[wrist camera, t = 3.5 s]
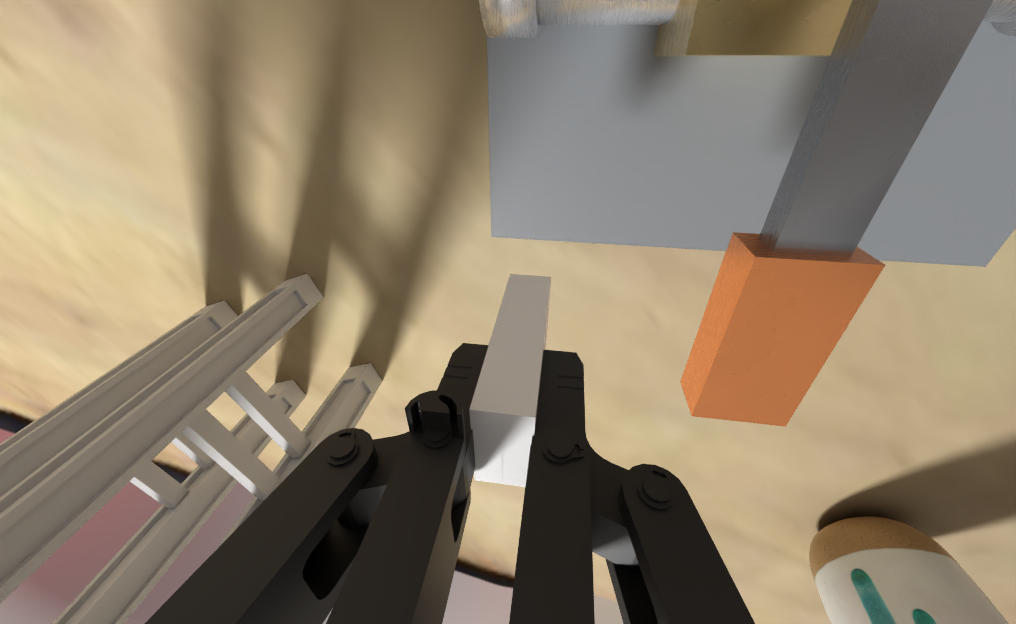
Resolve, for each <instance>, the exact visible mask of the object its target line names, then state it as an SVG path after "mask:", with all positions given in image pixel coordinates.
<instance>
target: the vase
mask: <svg viewBox="0 0 1016 624" xmlns="http://www.w3.org/2000/svg"><path fill="white" fill-rule="evenodd" d="M809 559H810V566H811V571H812V574H813V577H814V580H815V583H816V586H817V589H818V592H819V594H820V597H821V600H822V602H823V605H824V607H825V610H826V612H827V615H828V617H829V619H830V622H831V624H1008V623H1007V621H1006V620H1005V619H1004V617H1003V616H1002V615H1001V613H1000V612H999V611H998V610H997V609H996V607H995V606H994V605H993V604H992V602H991V601H990V600H989V599H988V597H987V596H986V595H985V594H984V593H983V591H982V590H981V589H980V588H979V587H978V586H977V584H976V583H975V582H974V581H973V580H972V579H971V577H970V576H969V575H968V574H967V573H966V572H965V571H964V569H963V568H962V567H961V566H960V565H959V564H958V563H957V562H956V561H955V559H954V558H953V557H952V556H951V555H950V554H949V553H948V552H947V551H946V550H945V549H944V548H943V547H942V546H940V545H939V544H938V543H937V542H936V541H934V540H933V539H932V538H930V537H929V536H927V535H926V534H924V533H923V532H921V531H919V530H918V529H916V528H914V527H912V526H909V525H907V524H905V523H903V522H900V521H896V520H892V519H888V518H882V517H854V518H848V519H844V520H840V521H837V522H834V523H832V524H830V525H828V526H826V527H824V528H823V529H821V530H820V531H819V532H818V533H817V534H816V535H815V537H814V538H813V540H812V543H811V546H810V553H809Z"/></svg>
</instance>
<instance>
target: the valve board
mask: <svg viewBox="0 0 1016 624" xmlns="http://www.w3.org/2000/svg"><path fill="white" fill-rule="evenodd" d="M658 27H659V25H560V26H541V29H540V35H539V38H489V37H488V36H487V64H488V108H489V151H490V195H491V237H500V238H517V239H533V240H550V241H566V242H583V243H600V244H616V245H633V246H649V247H666V248H683V249H699V250H716V251H726V250H727V247H728V245H729V242H730V239H731V236H732V233H733V232H738V233H756V234H760V233H761V231H762V228H763V226H764V223H765V220H766V218H767V215H768V213H769V210H770V208H771V205H772V203H773V200H774V198H775V195H776V193H777V190H778V188H779V185H780V182H781V180H782V177H783V175H784V172H785V170H786V167H787V165H788V162H789V160H790V157H791V155H792V152H793V149H794V147H795V144H796V142H797V139H798V137H799V134H800V132H801V129H802V127H803V124H804V122H805V119H806V116H807V114H808V111H809V109H810V106H811V104H812V101H813V99H814V96H815V94H816V91H817V89H818V86H819V83H820V81H821V78H822V76H823V73H824V71H825V68H826V66H827V63H828V61H829V58H830V57H757V56H653V54H654V49H655V43H656V38H657V32H658ZM1015 228H1016V36H1008V35H1004V34H1001V33H999V32H997V31H996V30H995V29H994V28H993V26H992V25H991V23H990V22H981V24H980V26H979V27H978V29H977V31H976V33H975V35H974V36H973V38H972V40H971V42H970V44H969V45H968V47H967V49H966V51H965V53H964V54H963V56H962V58H961V60H960V62H959V63H958V65H957V67H956V69H955V71H954V73H953V74H952V76H951V78H950V80H949V82H948V83H947V85H946V87H945V89H944V91H943V92H942V94H941V96H940V98H939V100H938V101H937V103H936V105H935V107H934V109H933V110H932V112H931V114H930V116H929V118H928V119H927V121H926V123H925V125H924V127H923V128H922V130H921V132H920V134H919V136H918V137H917V139H916V141H915V143H914V145H913V146H912V148H911V150H910V152H909V154H908V155H907V157H906V159H905V161H904V163H903V164H902V166H901V168H900V170H899V172H898V173H897V175H896V177H895V179H894V181H893V182H892V184H891V186H890V188H889V190H888V191H887V193H886V195H885V197H884V199H883V200H882V202H881V204H880V206H879V208H878V209H877V211H876V213H875V215H874V217H873V218H872V220H871V222H870V224H869V226H868V227H867V229H866V231H865V233H864V235H863V236H862V238H861V240H860V242H859V244H858V245H857V247H859V248H860V249H862V250H863V251H865V252H866V253H868V254H869V255H871V256H872V257H874V258H875V259H877V260H882V261H898V262H915V263H932V264H948V265H965V266H981V267H986V265H987V264H988V263H989V262H990V260H991V259H992V258H993V256H994V255H995V254H996V253H997V251H998V250H999V249H1000V247H1001V246H1002V245H1003V244H1004V242H1005V241H1006V240H1007V239H1008V237H1009V236H1010V235H1011V233H1012V232H1013V231H1014V230H1015Z"/></svg>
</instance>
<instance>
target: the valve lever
mask: <svg viewBox="0 0 1016 624" xmlns="http://www.w3.org/2000/svg"><path fill="white" fill-rule="evenodd" d="M992 2H993V0H852V2H851V5H850V7H849V10H848V12H847V15H846V18H845V20H844V23H843V25H842V28H841V30H840V33H839V35H838V38H837V40H836V43H835V45H834V48H833V51H832V53H831V56H830V58H829V61H828V63H827V66H826V68H825V71H824V73H823V76H822V78H821V81H820V83H819V86H818V89H817V91H816V94H815V96H814V99H813V101H812V104H811V106H810V109H809V111H808V114H807V116H806V119H805V122H804V124H803V127H802V129H801V132H800V134H799V137H798V139H797V142H796V144H795V147H794V149H793V152H792V155H791V157H790V160H789V162H788V165H787V167H786V170H785V172H784V175H783V177H782V180H781V182H780V185H779V188H778V190H777V193H776V195H775V198H774V200H773V203H772V205H771V208H770V210H769V213H768V215H767V218H766V220H765V223H764V226H763V228H762V231H761V233H760V234H756V233H738V232H733V233H732V236H731V239H730V242H729V245H728V247H727V250H726V253H725V256H724V259H723V262H722V265H721V267H720V270H719V273H718V276H717V279H716V282H715V284H714V287H713V290H712V293H711V296H710V299H709V302H708V304H707V307H706V310H705V313H704V316H703V319H702V322H701V324H700V327H699V330H698V333H697V336H696V339H695V342H694V344H693V347H692V350H691V353H690V356H689V359H688V361H687V364H686V367H685V370H684V373H683V376H682V379H681V381H680V382H681V385H682V388H683V391H684V394H685V397H686V400H687V403H688V406H689V409H690V412H691V415H692V416H696V417H705V418H714V419H723V420H732V421H741V422H751V423H760V424H769V425H778V426H786V425H787V423H788V422H789V420H790V418H791V417H792V415H793V413H794V412H795V410H796V409H797V407H798V405H799V404H800V402H801V401H802V399H803V397H804V396H805V394H806V392H807V391H808V389H809V388H810V386H811V384H812V383H813V381H814V379H815V378H816V376H817V375H818V373H819V371H820V370H821V368H822V367H823V365H824V363H825V362H826V360H827V358H828V357H829V355H830V354H831V352H832V350H833V349H834V347H835V346H836V344H837V342H838V341H839V339H840V337H841V336H842V334H843V333H844V331H845V329H846V328H847V326H848V324H849V323H850V321H851V320H852V318H853V316H854V315H855V313H856V312H857V310H858V308H859V307H860V305H861V303H862V302H863V300H864V299H865V297H866V295H867V294H868V292H869V291H870V289H871V287H872V286H873V284H874V282H875V281H876V279H877V278H878V276H879V274H880V273H881V271H882V269H883V268H884V266H885V264H883V263H882V262H880V261H878V260H877V259H875V258H874V257H872V256H871V255H869V254H868V253H866V252H865V251H863V250H862V249H860V248H859V247H857V245H858V244H859V242H860V240H861V238H862V236H863V235H864V233H865V231H866V229H867V227H868V226H869V224H870V222H871V220H872V218H873V217H874V215H875V213H876V211H877V209H878V208H879V206H880V204H881V202H882V200H883V199H884V197H885V195H886V193H887V191H888V190H889V188H890V186H891V184H892V182H893V181H894V179H895V177H896V175H897V173H898V172H899V170H900V168H901V166H902V164H903V163H904V161H905V159H906V157H907V155H908V154H909V152H910V150H911V148H912V146H913V145H914V143H915V141H916V139H917V137H918V136H919V134H920V132H921V130H922V128H923V127H924V125H925V123H926V121H927V119H928V118H929V116H930V114H931V112H932V110H933V109H934V107H935V105H936V103H937V101H938V100H939V98H940V96H941V94H942V92H943V91H944V89H945V87H946V85H947V83H948V82H949V80H950V78H951V76H952V74H953V73H954V71H955V69H956V67H957V65H958V63H959V62H960V60H961V58H962V56H963V54H964V53H965V51H966V49H967V47H968V45H969V44H970V42H971V40H972V38H973V36H974V35H975V33H976V31H977V29H978V27H979V26H980V24H981V22H982V20H983V18H984V17H985V15H986V13H987V11H988V9H989V8H990V6H991V4H992Z"/></svg>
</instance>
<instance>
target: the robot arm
mask: <svg viewBox="0 0 1016 624" xmlns="http://www.w3.org/2000/svg"><path fill="white" fill-rule="evenodd" d="M550 283H551V277H543V276H529V275H515V274H510V277H509V280H508V283H507V286H506V290H505V293H504V296H503V300H502V303H501V306H500V310H499V313H498V316H497V320H496V323H495V326H494V330H493V333H492V336H491V340H490V343H489V345H478V344H468V343H463V344H462V345H461V346H460V347H459V348H458V349H456V350H455V351H454V352H453V353H452V356H451V358H450V361H449V363H448V367H447V368H446V370H445V373H444V376H443V377H442V380H441V382H440V385H439V387H438V389H437V391H428V392H425V393H422V394H420V395H418V396H417V397H415V398H414V399H412V400H411V401H410V402H409V404H408V405H407V406H406V407H405V412H406V416H407V421H408V425H409V430H410V431H409V432H407V433H405V434H401V435H397V436H393V437H387V438H380V439H374V440H372V438H371V436H370V434H369V433H367V432H366V431H364V430H363V429H357V428H349V429H342V430H340V431H337V432H335V433H333V434H331V435H329V436H328V437H327V438H325V439H324V440H323V441H322V442H320V443H319V444H318V445H317V446H316V447H315V449H314V450H313V451H312V452H311V453H310V454H309V455H308V456H307V457H306V458H305V459H304V460H303V461H302V462H301V463H300V464H299V465H298V466H297V467H296V468H295V469H294V470H293V471H292V472H291V473H290V474H289V475H288V476H287V477H286V478H285V479H284V481H283V482H282V483H281V484H280V485H279V486H278V487H277V488H276V489H275V490H274V491H273V492H272V493H271V494H270V495H269V496H268V497H267V498H266V499H265V500H264V501H263V502H262V503H261V504H260V505H259V506H258V507H257V508H256V509H255V510H254V511H253V512H252V514H251V515H250V516H249V517H248V518H247V519H246V520H245V521H244V522H243V523H242V524H241V525H240V526H239V527H238V528H237V529H236V530H235V531H234V532H233V533H232V534H231V535H230V536H229V537H228V538H227V539H226V540H225V541H224V542H223V543H222V544H221V545H220V547H219V548H218V549H217V550H216V551H215V552H214V553H213V554H212V555H211V556H210V557H209V558H208V559H207V560H206V561H205V562H204V563H203V564H202V565H201V566H200V567H199V568H198V569H197V570H196V571H195V572H194V573H193V574H192V575H191V576H190V577H189V579H188V580H187V581H186V582H185V583H184V584H183V585H182V586H181V587H180V588H179V589H178V590H177V591H176V592H175V593H174V594H173V595H172V596H171V597H170V598H169V599H168V600H167V601H166V602H165V603H164V604H163V605H162V606H161V607H160V609H158V610H157V612H156V613H155V614H154V615H153V616H152V617H151V618H150V619H149V620H148V621H147V622H146V623H145V624H322V623H323V622H324V620H325V619H326V617H327V616H328V614H329V612H330V611H331V610H332V611H331V614H330V616H329V618H328V621H327V623H326V624H442V622H443V617H444V612H445V609H446V604H447V600H448V596H449V592H450V587H451V582H452V579H453V574H454V570H455V566H456V562H457V557H458V553H459V549H460V544H461V540H462V536H463V532H464V527H465V523H466V519H467V514H468V510H469V506H470V500H471V491H470V486H471V482H472V478H473V474H474V475H475V480H478V481H485V482H492V483H499V484H506V485H514V486H521V487H525V495H524V504H523V512H522V521H521V529H520V537H519V546H518V554H517V563H516V571H515V579H514V588H513V597H512V605H511V613H510V622H509V624H595V623H594V592H593V561H592V552H594V553H596V554H598V555H600V556H602V557H604V558H606V562H607V566H608V569H609V573H610V576H611V580H612V584H613V587H614V591H615V594H616V598H617V602H618V605H619V609H620V612H621V616H622V620H623V623H624V624H755V623H754V621H753V619H752V617H751V615H750V613H749V611H748V609H747V607H746V605H745V603H744V601H743V599H742V597H741V595H740V593H739V591H738V589H737V587H736V585H735V583H734V581H733V580H732V578H731V576H730V574H729V572H728V570H727V568H726V566H725V564H724V562H723V560H722V558H721V556H720V554H719V552H718V550H717V548H716V546H715V544H714V542H713V540H712V538H711V536H710V535H709V533H708V531H707V529H706V527H705V525H704V523H703V521H702V519H701V517H700V515H699V513H698V511H697V509H696V507H695V505H694V503H693V501H692V499H691V497H690V495H689V493H688V491H687V490H686V488H685V487H684V486H683V484H682V483H681V481H680V480H679V479H678V478H677V477H676V476H674V475H673V474H672V473H671V472H669V471H668V470H666V469H664V468H661V467H659V466H656V465H649V464H641V465H637V466H634V467H632V468H631V469H630V470H627V469H625V468H622V467H620V466H618V465H615V464H613V463H611V462H609V461H607V460H605V459H603V458H602V457H601V456H599V455H598V454H597V453H596V452H595V451H594V450H593V449H592V447H591V446H590V445H589V443H588V440H587V438H586V433H585V404H584V368H583V363H582V362H581V360H580V358H579V357H578V355H577V353H573V352H563V351H552V350H545V346H546V337H547V323H548V310H549V296H550ZM332 608H333V609H332Z"/></svg>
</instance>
